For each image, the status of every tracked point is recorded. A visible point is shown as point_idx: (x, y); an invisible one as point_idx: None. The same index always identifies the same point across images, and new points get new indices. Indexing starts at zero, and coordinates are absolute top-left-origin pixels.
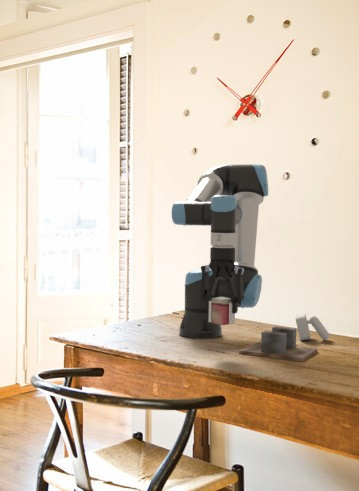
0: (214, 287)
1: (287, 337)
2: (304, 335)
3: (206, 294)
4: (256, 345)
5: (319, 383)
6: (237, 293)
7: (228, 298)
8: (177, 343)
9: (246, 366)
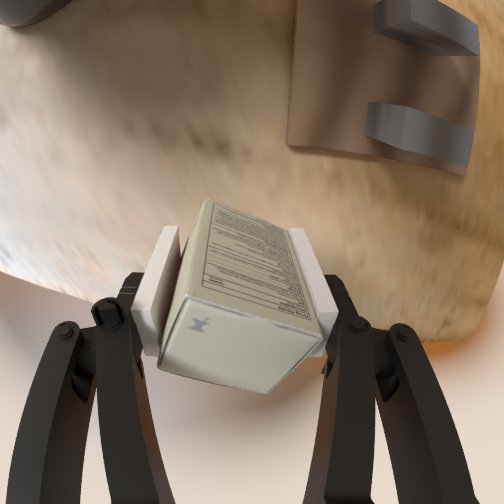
0: (150, 433)
1: (444, 47)
2: None
3: (89, 361)
4: (318, 29)
5: (456, 316)
6: (381, 406)
7: (292, 353)
8: (37, 118)
9: (344, 283)
